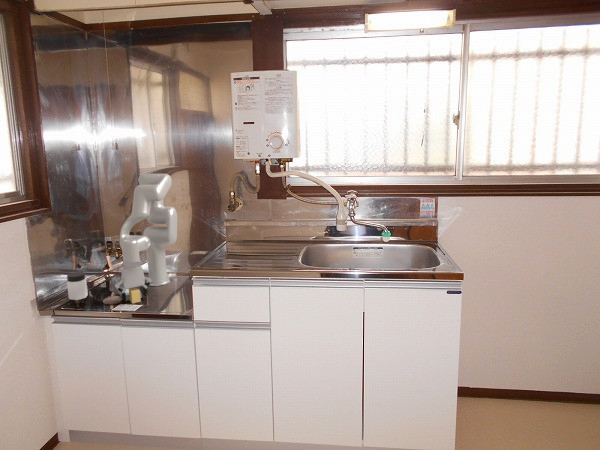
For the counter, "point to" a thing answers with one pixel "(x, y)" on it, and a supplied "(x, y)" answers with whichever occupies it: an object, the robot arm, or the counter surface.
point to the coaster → (112, 300)
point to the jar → (77, 286)
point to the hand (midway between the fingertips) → (134, 297)
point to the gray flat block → (128, 294)
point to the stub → (134, 295)
